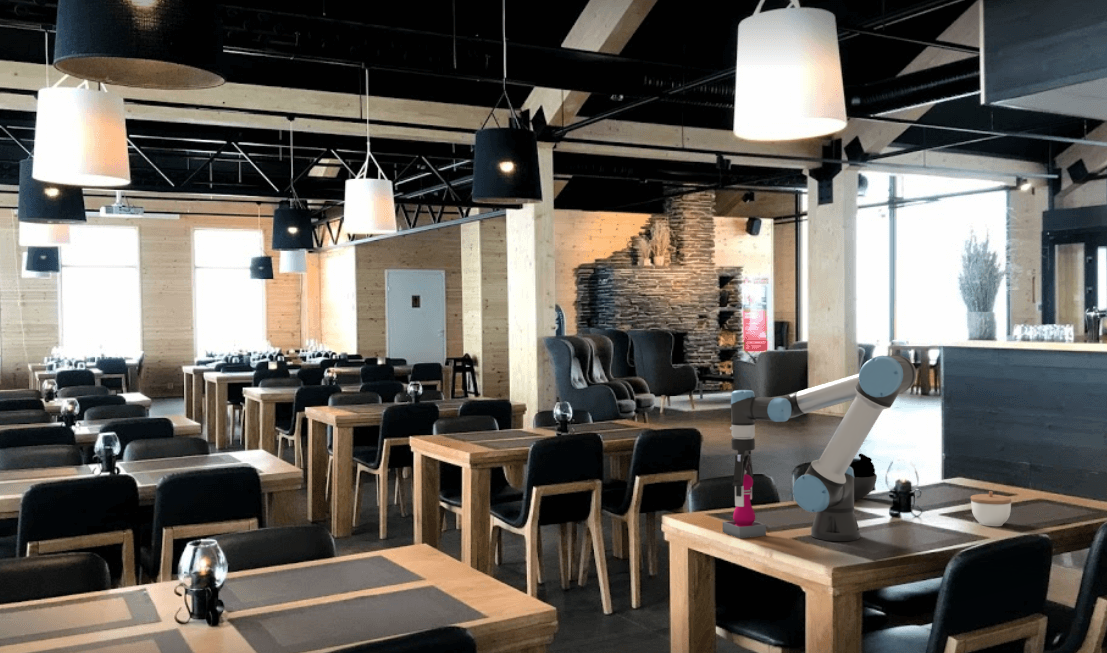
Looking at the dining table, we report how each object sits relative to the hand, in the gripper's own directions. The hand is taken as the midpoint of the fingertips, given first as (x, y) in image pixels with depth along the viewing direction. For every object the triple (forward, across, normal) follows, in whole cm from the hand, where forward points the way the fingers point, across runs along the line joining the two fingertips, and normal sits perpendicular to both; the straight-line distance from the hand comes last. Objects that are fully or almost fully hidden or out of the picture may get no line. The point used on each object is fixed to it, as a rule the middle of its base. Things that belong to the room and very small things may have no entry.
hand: (743, 502), depth 326 cm
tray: (+10, 0, 0) cm, 10 cm away
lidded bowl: (+10, -42, +75) cm, 87 cm away
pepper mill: (+9, 0, 0) cm, 9 cm away
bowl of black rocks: (+10, -74, +26) cm, 79 cm away
